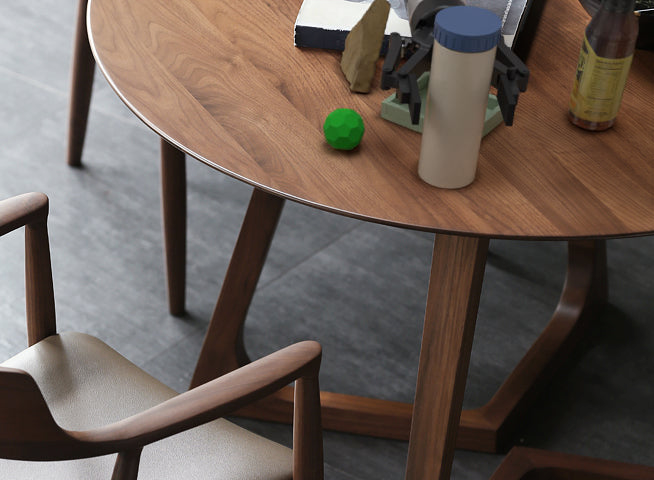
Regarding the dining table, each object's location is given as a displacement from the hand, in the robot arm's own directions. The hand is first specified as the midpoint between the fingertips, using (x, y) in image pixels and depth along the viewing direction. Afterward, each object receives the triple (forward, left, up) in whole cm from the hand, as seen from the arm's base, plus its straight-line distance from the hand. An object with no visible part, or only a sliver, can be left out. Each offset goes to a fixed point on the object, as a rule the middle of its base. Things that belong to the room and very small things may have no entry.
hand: (463, 114), depth 117 cm
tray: (+10, -14, -10) cm, 20 cm away
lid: (+3, -3, +8) cm, 9 cm away
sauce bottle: (-5, -25, -10) cm, 28 cm away
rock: (+25, -16, -10) cm, 31 cm away
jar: (+3, -3, -10) cm, 11 cm away
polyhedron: (+16, 0, -10) cm, 19 cm away
